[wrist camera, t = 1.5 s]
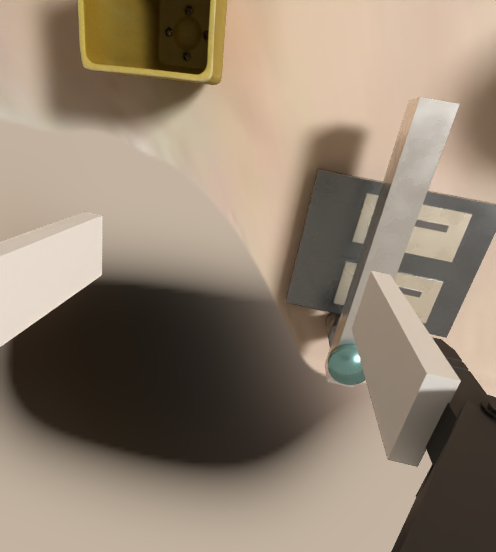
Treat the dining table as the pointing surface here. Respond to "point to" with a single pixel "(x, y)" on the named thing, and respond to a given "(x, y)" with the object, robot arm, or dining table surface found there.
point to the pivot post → (332, 325)
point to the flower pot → (153, 38)
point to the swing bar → (392, 220)
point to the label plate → (417, 258)
